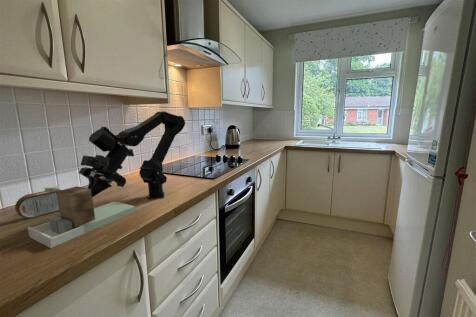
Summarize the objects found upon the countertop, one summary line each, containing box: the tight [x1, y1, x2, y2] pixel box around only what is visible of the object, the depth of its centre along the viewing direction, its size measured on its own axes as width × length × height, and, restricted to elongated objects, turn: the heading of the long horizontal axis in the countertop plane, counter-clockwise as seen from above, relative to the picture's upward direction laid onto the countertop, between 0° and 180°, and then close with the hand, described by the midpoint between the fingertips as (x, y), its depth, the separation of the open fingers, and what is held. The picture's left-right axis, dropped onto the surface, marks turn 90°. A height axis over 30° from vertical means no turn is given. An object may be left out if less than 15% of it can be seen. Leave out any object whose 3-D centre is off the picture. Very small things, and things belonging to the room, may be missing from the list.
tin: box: [14, 188, 62, 219], centre depth 85 cm, size 15×3×8 cm, turn 141°
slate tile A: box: [57, 219, 73, 234], centre depth 69 cm, size 4×4×2 cm
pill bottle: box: [44, 184, 59, 191], centre depth 92 cm, size 5×5×8 cm
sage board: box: [72, 200, 136, 234], centre depth 81 cm, size 18×12×2 cm, turn 150°
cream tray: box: [27, 221, 86, 249], centre depth 70 cm, size 9×13×3 cm, turn 60°
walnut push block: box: [56, 186, 95, 227], centre depth 74 cm, size 6×8×10 cm
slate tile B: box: [49, 215, 63, 233], centre depth 72 cm, size 4×4×2 cm
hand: (86, 199), depth 76 cm, fingers closed, pressing on walnut push block
